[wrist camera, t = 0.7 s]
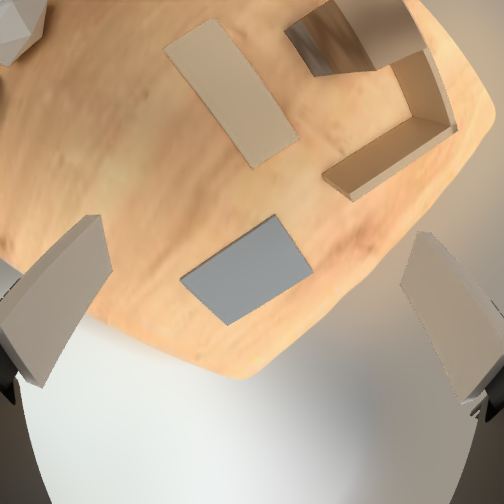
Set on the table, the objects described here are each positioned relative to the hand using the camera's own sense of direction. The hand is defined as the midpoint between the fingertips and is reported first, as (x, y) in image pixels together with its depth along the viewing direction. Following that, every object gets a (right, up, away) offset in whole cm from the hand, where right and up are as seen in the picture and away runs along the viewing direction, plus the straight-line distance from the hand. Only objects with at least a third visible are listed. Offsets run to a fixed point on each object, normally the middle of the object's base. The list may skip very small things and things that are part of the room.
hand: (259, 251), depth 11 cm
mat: (-1, -3, +25) cm, 26 cm away
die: (-25, +25, +5) cm, 36 cm away
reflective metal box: (+7, +22, +13) cm, 26 cm away
